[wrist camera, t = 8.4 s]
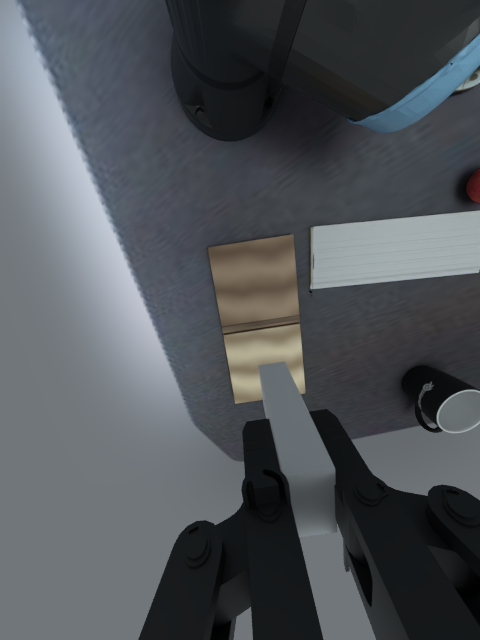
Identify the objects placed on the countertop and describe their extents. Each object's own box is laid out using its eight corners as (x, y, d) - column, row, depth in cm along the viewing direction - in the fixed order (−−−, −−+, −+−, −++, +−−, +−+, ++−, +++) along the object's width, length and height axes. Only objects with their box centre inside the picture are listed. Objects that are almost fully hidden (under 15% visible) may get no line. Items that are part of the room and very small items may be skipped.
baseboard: (471, 280, 44) (486, 210, 40) (488, 282, 41) (505, 207, 38) (308, 296, 44) (307, 227, 40) (313, 299, 41) (313, 226, 37)
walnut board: (208, 247, 40) (207, 247, 38) (290, 234, 40) (293, 234, 38) (223, 329, 44) (222, 333, 42) (296, 318, 44) (300, 322, 42)
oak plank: (223, 331, 45) (223, 335, 43) (296, 320, 44) (299, 323, 42) (235, 397, 49) (235, 403, 47) (302, 387, 48) (305, 393, 46)
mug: (405, 358, 48) (449, 386, 38) (445, 363, 48) (499, 392, 39) (386, 407, 51) (422, 445, 42) (424, 411, 52) (468, 449, 42)
